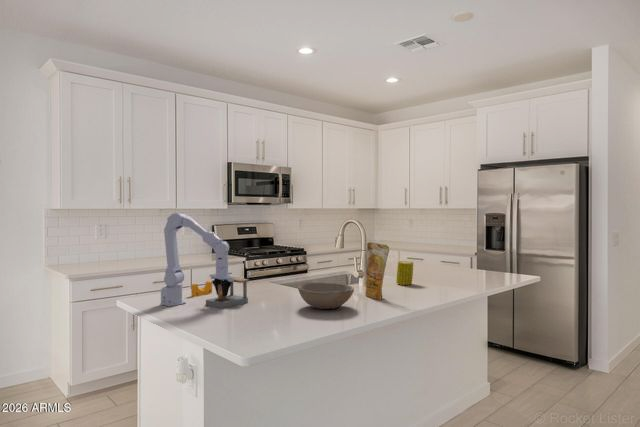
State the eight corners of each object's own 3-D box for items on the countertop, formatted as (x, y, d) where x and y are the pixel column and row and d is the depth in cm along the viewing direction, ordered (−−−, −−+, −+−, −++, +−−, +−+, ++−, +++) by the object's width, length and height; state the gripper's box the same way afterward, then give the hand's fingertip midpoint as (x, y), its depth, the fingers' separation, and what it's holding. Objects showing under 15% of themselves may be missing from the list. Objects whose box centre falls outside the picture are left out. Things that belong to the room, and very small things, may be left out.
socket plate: (222, 308, 201) (222, 283, 201) (205, 304, 210) (205, 280, 210) (248, 302, 214) (248, 279, 214) (231, 299, 222) (231, 276, 222)
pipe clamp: (206, 292, 241) (206, 280, 241) (212, 293, 239) (212, 281, 239) (189, 296, 231) (189, 283, 231) (194, 297, 229) (194, 284, 229)
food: (403, 285, 271) (415, 288, 263) (389, 282, 266) (400, 285, 257) (409, 261, 272) (420, 263, 263) (394, 257, 266) (405, 260, 258)
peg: (228, 301, 210) (228, 284, 210) (221, 302, 207) (221, 285, 207) (223, 300, 212) (222, 283, 212) (216, 301, 209) (216, 284, 209)
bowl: (321, 299, 222) (321, 279, 222) (365, 306, 205) (365, 285, 205) (285, 308, 202) (285, 287, 202) (330, 317, 185) (330, 294, 185)
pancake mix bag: (372, 293, 238) (372, 241, 237) (390, 300, 220) (390, 244, 219) (361, 294, 235) (361, 242, 235) (378, 301, 217) (378, 245, 217)
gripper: (238, 267, 208) (238, 295, 208) (219, 264, 217) (219, 292, 217) (226, 268, 202) (226, 298, 202) (207, 266, 211) (207, 294, 212)
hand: (222, 295), depth 209 cm, fingers closed on peg, 4 cm apart
